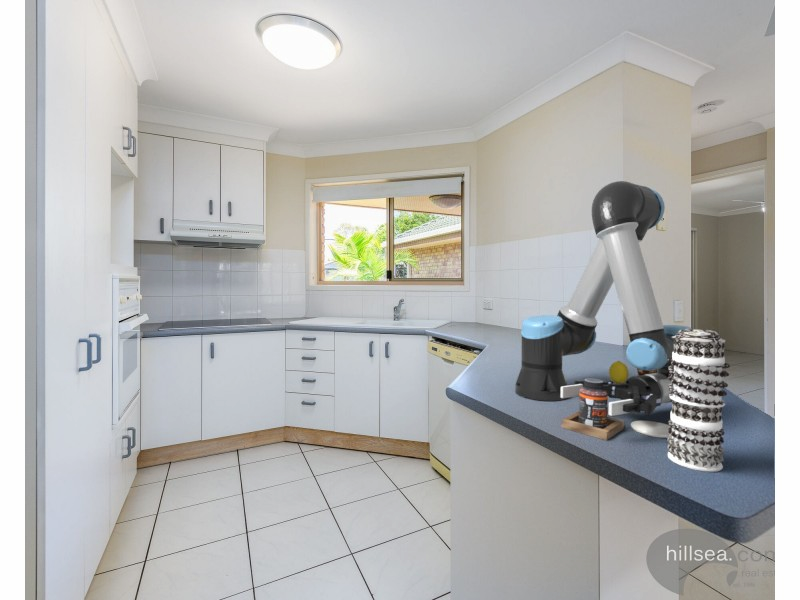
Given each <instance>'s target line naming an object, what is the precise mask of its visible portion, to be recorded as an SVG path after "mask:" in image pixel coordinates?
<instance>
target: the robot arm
mask: <svg viewBox="0 0 800 600" xmlns="http://www.w3.org/2000/svg"><path fill="white" fill-rule="evenodd" d="M664 213H665V201H664V199H663V197H662V196H661V195H660V193H659V192H657V191H656V190H654V189H653V188H650V187H648V186H645V185H639V184H635V183H634V182H633V183H632V182H629V181H626V180H625V181H624V180H623V181H622V180H620V181H619V180H618V181H617V180H616V181H613V182H611V183H608V184H606V185H605V186H603V187H601V188H600V190H598V192H597V193H596V195H595V196H594V198H593V200H592V205H591V220H592V224H593V230H594V232H595V237H596V238H598V239H599V240H598V242H597V244H596V246H595V248H594V250H593V252H592V254H591V257H590V258H589V260H588V263H587V265H586V266H585V269H584V271H583V273H582V275H581V277H580V279H579V281H578V284H577V285H576V287H575V290H574V292H573V293H572V295H571V298H570V300H569V301H568V304H567V305H564V306H561V307H560V309H559V310H558V313H557V314H556V315H554V314H553V315H551V314H546V315H544V314H543V315H534V316H529V317H527V318H525V319H524V320H523V321H522V324H521V331H520V334H521V367H520V370H519V373H518V376H517V378H516V381H515V388H514V389H515V391H514V392H515V393H516V394H517V395H518V394H519V395H518V396H520V395H521V396H520V397H522V396H523V398H526V397H527V399H530V400H534V401H545V402H547V401H548V402H549V401H550V402H551V401H552V402H553V401H554V402H555V401H561V400H565V399H567V398H568V399H569V398H574V397H579V392H580V389H581V388H583V387H584V380H574V384H571V385H567V380H566V377H565V374H564V371H563V357H565V356H566V357H567V356H571V355H579V354H581V353H584V352H586V351H588V350H589V349H591V348H592V347H593V346H594V344H595V342H596V339H597V332H596V327H597V326H598V320H597V318H596V316H597V315H598V312H599V310H600V308H601V307H602V305H603V303H604V301H605V299H606V297H607V295H608V293H609V291H610V289H611V288H612V285H613V284H614V286H615V290H616V293H617V297H618V300H619V305H620V308H621V312H622V316H623V318H624V324H625V326H626V329H627V334H628V336H629V340H630V341H629V342H630V343H628V345H627V348H626V351H625V356H626V359H627V361H628V362H629V364H630V365H631V366H633V367H634V368H635V369H636V370H637V369H640V370H645V371H649V370H657V373H653V374H645V375H640V376H638V375H633V376H631V377H628V378H627V380H626V381H625V382H624V383H620V384H616V383H615V382H613V381H612V380H606V381H604V380H602V381H603V388H604V390H605V391H606V392H607V394H608V398H609V399H619V400H615V401H609V402H608V413H607V416H610V417H612V416H614V417H615V416H618V415H619V416H620V415H624V414H630V413H633V412H635V413H637V414H639V413H641V412H643V413H644V415H647V416H650V415H652V414H653V412H654V411H655V410H656V408H657V407H659V406H660V407H661V405H664V404H668V403H672V399H670V397H669V393H670V392H671V391H669V387H668V386H669V385H670V384H672V382H671V381H670V380H669V379H668V375H669V374H671V373H669V371H668V367H670V366H671V365H672V364H671V363H670V362H668V359H669V358H671V359H672V352H674V338H672V336H675V335H676V334H677V333H678V332H679V331H680V330H682V329H692V327H690V326H688V325H677V324H676V325H675V324H663V320H662V316H661V315H660V311H659V307H658V304H657V300H656V295H655V294H654V290H653V286H652V283H651V281H650V277H649V272H648V270H647V267H646V263H645V262H646V261H645V260H644V257H643V253H642V249H641V246H640V243H641V242H642V241H643V239H644V237H645V236H646V234H647V232H648V231H649V230H650V229H652V228H654V227H655V226H657V225H658V224H659V223H660V221H661V220H662V219H663V217H664ZM672 360H673V359H672ZM673 371H674V369H673ZM673 379H674V376H673Z"/></svg>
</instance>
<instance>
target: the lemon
mask: <svg viewBox="0 0 800 600" xmlns="http://www.w3.org/2000/svg"><path fill="white" fill-rule="evenodd" d="M608 375H609V378H610V381H613V383H615V384H620V383H625V382H626V381H627V380H628V379H629V369H628V367H627V365H626V364H625V363H624V362H621V360H617V361H614V362H612V364H611V365H610V367H609V369H608Z"/></svg>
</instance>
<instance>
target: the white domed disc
mask: <svg viewBox="0 0 800 600" xmlns="http://www.w3.org/2000/svg"><path fill="white" fill-rule="evenodd" d="M670 427H671V426H670V425H669V424H666V423H663V422H657V421H653V420H634V421H632V422H631V423H630V428H631V429H632V430H634V432H637V433H639V434H641V435H645V436H649V437H654V438H662V439H668V437H669V436H670V435H671V434H670V433H669V432H668V429H669V428H670Z"/></svg>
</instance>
